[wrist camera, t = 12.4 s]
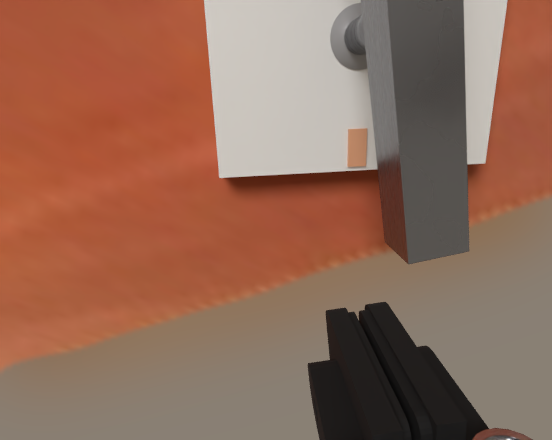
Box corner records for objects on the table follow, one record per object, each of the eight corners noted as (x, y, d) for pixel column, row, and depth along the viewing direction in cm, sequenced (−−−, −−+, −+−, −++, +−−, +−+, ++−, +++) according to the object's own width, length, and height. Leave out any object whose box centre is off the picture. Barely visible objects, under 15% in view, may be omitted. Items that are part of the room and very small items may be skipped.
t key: (306, -199, 18) (353, -419, 11) (365, -209, 18) (453, -434, 11) (357, 215, 25) (408, 264, 17) (400, 206, 25) (469, 251, 17)
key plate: (500, -108, 22) (527, -131, 20) (467, 159, 27) (487, 163, 25) (197, -109, 21) (192, -133, 18) (221, 172, 25) (219, 178, 23)
